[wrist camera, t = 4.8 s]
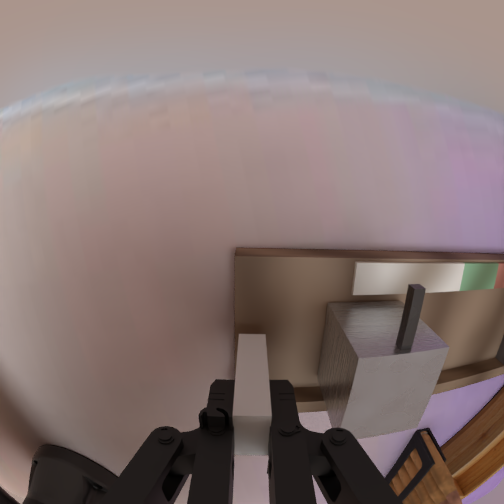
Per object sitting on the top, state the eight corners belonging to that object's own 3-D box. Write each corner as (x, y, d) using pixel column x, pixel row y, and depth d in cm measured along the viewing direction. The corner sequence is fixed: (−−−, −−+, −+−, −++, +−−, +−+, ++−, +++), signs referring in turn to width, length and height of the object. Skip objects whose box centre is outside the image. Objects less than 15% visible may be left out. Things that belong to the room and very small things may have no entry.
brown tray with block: (236, 387, 22) (231, 469, 14) (236, 247, 19) (226, 298, 11) (499, 356, 22) (541, 396, 14) (528, 254, 19) (586, 280, 11)
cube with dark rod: (317, 377, 19) (336, 441, 13) (332, 253, 17) (371, 293, 11) (383, 371, 19) (416, 427, 13) (408, 254, 17) (465, 289, 11)
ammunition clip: (416, 430, 24) (460, 512, 12) (429, 427, 24) (474, 505, 12) (380, 483, 26) (405, 554, 15) (393, 480, 26) (419, 549, 15)
